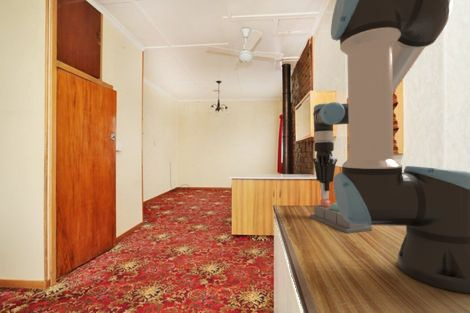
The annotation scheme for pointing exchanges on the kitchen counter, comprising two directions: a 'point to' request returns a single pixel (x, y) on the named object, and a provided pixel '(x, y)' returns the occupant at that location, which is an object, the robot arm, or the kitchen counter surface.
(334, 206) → the teal button
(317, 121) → the robot arm
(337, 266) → the kitchen counter surface
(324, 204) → the salmon button
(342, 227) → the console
